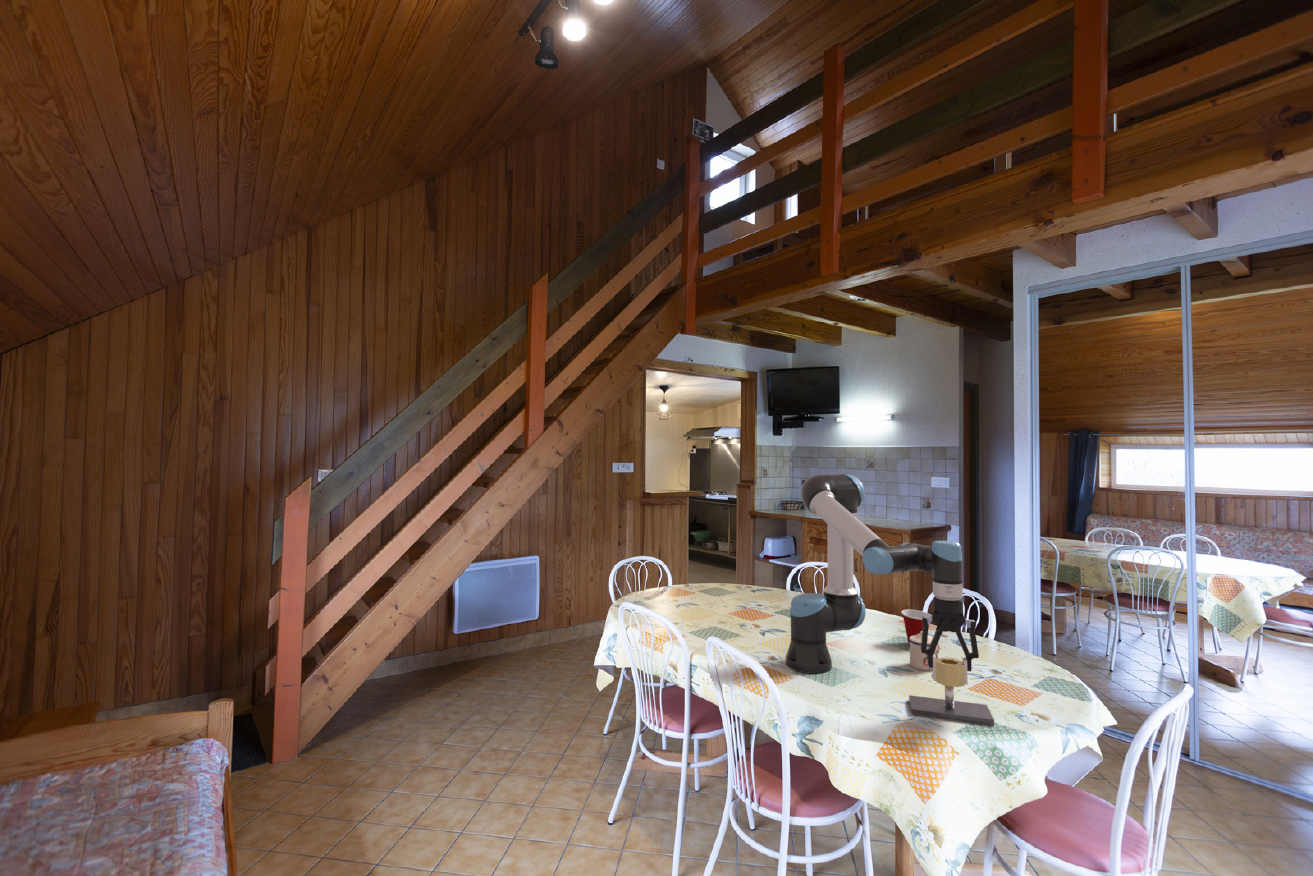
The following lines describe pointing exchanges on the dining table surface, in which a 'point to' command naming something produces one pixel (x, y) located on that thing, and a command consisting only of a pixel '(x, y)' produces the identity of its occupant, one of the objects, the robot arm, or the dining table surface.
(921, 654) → the teacup with lid
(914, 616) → the plastic cup
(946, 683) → the ring
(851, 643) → the dining table surface
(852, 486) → the robot arm
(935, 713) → the shaft stand
